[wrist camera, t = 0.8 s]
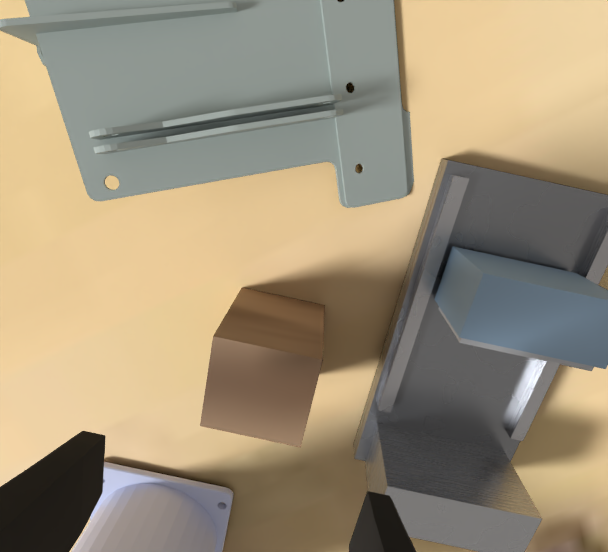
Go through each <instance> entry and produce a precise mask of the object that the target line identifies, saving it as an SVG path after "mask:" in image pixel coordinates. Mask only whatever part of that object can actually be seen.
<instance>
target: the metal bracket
mask: <svg viewBox="0 0 608 552" xmlns="http://www.w3.org/2000/svg"><path fill="white" fill-rule="evenodd" d="M25 2H26V5H27V8H28V12H29V15H30V17H23V18H11V19H1V20H0V30H1V31H3V32H5V33H8V34H10V35H12V36H15V37H17V38H20V39H22V40H24V41H27V42H29V43H31V44H34V45H36V46H37V53H38V55H39V57H40V59H41V61H42V63H43V65H45V66H46V67H47V70H48V73H49V76H50V80H51V83H52V86H53V89H54V92H55V95H56V98H57V101H58V104H59V107H60V110H61V114H62V117H63V120H64V123H65V126H66V129H67V132H68V135H69V138H70V141H71V145H72V148H73V151H74V154H75V157H76V160H77V163H78V166H79V169H80V172H81V175H82V179H83V182H84V185H85V188H86V191H87V194H88V195H89V197H90V198H91V199H93V200H95V201H105V200H111V199H117V198H122V197H128V196H134V195H139V194H145V193H151V192H157V191H162V190H168V189H174V188H179V187H185V186H191V185H196V184H202V183H208V182H213V181H219V180H225V179H230V178H236V177H242V176H248V175H253V174H259V173H265V172H270V171H276V170H282V169H287V168H293V167H299V166H304V165H310V164H316V163H321V162H331V163H332V164H333V165H334V167H335V170H336V178H337V186H338V194H339V201H340V203H341V205H342V206H344V207H347V208H350V207H359V206H365V205H370V204H375V203H380V202H385V201H390V200H395V199H400V198H403V197H405V196H407V195H408V194H409V193H410V191H411V188H412V185H413V182H414V177H413V161H412V144H411V127H410V112H406V111H405V110H404V109H403V106H402V101H401V88H400V74H399V61H398V47H397V34H396V21H395V7H394V0H344V1H343V2H338V1H337V0H25ZM348 83H351V84H352V85H353V86H354V91H353V92H352V93H349V92H347V90H346V85H347V84H348ZM357 164H361V165H362V167H363V169H362V171H361V172H360V173H357V172H356V170H355V167H356V165H357ZM109 175H113V176H115V177H117V178H118V180H119V187H118V189H116V190H111V189H109V188H107V186H106V185H105V179H106V177H107V176H109Z"/></svg>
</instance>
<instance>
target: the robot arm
mask: <svg viewBox="0 0 608 552" xmlns="http://www.w3.org/2000/svg"><path fill="white" fill-rule="evenodd" d="M104 453H105V435H100V434H96V433H91V432H86V431H82V432H80V433H79V434H77V435H76V436H74V437H73V438H71V439H70V440H69V441H67V442H66V443H64V444H63V445H61V446H60V447H58V448H57V449H56V450H54V451H53V452H51V453H50V454H48V455H47V456H46V457H44V458H43V459H41V460H40V461H38V462H37V463H35V464H34V465H32V466H31V467H30V468H28V469H27V470H25V471H24V472H22V473H21V474H19V475H18V476H16V477H15V478H13V479H12V480H10V481H9V482H7V483H5V484H4V485H2V486H1V487H0V552H69V551H70V550H71V548H72V547H73V545H74V544H75V542H76V540H77V539H78V537H79V536H80V534H81V533H82V531H83V529H84V527H85V525H86V523H87V522H88V520H89V518H90V522H89V524H88V526H87V527H86V529H85V530H84V532H83V533H82V535H81V537H80V538H79V540H78V541H77V543H76V545H75V546H74V548H73V549H72V551H71V552H223V547H224V542H225V537H226V531H227V526H228V521H229V516H230V511H231V506H232V501H233V492H232V491H231V490H230V489H229V488H226V487H222V486H217V485H212V484H207V483H203V482H198V481H193V480H189V479H184V478H179V477H174V476H170V475H165V474H160V473H155V472H151V471H146V470H141V469H136V468H132V467H127V466H122V465H118V464H113V463H108V462H104ZM221 502H223V503H221ZM349 552H416V550H415V548H414V546H413V544H412V542H411V540H410V538H409V536H408V534H407V531H406V529H405V527H404V525H403V523H402V520H401V518H400V516H399V514H398V512H397V509H396V507H395V505H394V503H393V500H392V499H391V497H390V496H389V495H384V494H379V493H375V492H370V491H367V494H366V497H365V500H364V503H363V506H362V509H361V512H360V515H359V518H358V521H357V523H356V526H355V529H354V532H353V535H352V538H351V541H350V544H349Z"/></svg>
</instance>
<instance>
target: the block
mask: <svg viewBox="0 0 608 552" xmlns="http://www.w3.org/2000/svg"><path fill="white" fill-rule="evenodd" d="M324 310H325V305H321V304H316V303H312V302H307V301H302V300H298V299H293V298H288V297H284V296H279V295H274V294H270V293H265V292H261V291H256V290H251V289H247V288H241V290H240V292H239V294H238V295H237V297H236V299H235V300H234V302H233V304H232V305H231V307H230V309H229V310H228V312H227V314H226V316H225V317H224V319H223V321H222V322H221V324H220V326H219V327H218V329H217V331H216V332H215V334H214V336H213V341H212V348H211V355H210V362H209V369H208V376H207V382H206V389H205V396H204V403H203V410H202V416H201V423H200V426H203V427H207V428H212V429H217V430H222V431H226V432H231V433H236V434H240V435H245V436H250V437H254V438H259V439H264V440H269V441H273V442H278V443H283V444H287V445H292V446H297V447H301V443H302V440H303V436H304V432H305V428H306V424H307V420H308V416H309V412H310V408H311V404H312V400H313V396H314V392H315V388H316V385H317V381H318V377H319V373H320V369H321V365H322V361H323V340H324Z"/></svg>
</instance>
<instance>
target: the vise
mask: <svg viewBox="0 0 608 552" xmlns="http://www.w3.org/2000/svg"><path fill="white" fill-rule="evenodd" d="M453 246H454V247H458V248H463V249H468V250H472V251H477V252H481V253H486V254H491V255H495V256H500V257H504V258H509V259H514V260H518V261H523V262H527V263H532V264H537V265H541V266H546V267H550V268H555V269H560V270H564V271H569V272H574V273H577V274H579V275H581V276H583V277H584V278H586V279H588V280H590V281H592V282H594V283H595V284H597V285H598V284H599V282H600V280H601V278H602V276H603V274H604V272H605V270H606V268H607V266H608V195H605V194H601V193H596V192H592V191H587V190H582V189H578V188H573V187H569V186H564V185H560V184H555V183H550V182H546V181H541V180H537V179H532V178H528V177H523V176H519V175H514V174H509V173H505V172H500V171H496V170H491V169H487V168H482V167H477V166H473V165H468V164H464V163H459V162H455V161H450V160H445V159H441V162H440V165H439V168H438V172H437V175H436V178H435V181H434V185H433V188H432V191H431V194H430V198H429V201H428V204H427V207H426V211H425V214H424V217H423V220H422V224H421V227H420V230H419V233H418V237H417V240H416V243H415V246H414V250H413V253H412V256H411V259H410V262H409V266H408V269H407V272H406V275H405V279H404V282H403V285H402V288H401V292H400V295H399V298H398V301H397V305H396V308H395V311H394V314H393V318H392V321H391V324H390V327H389V331H388V334H387V337H386V340H385V344H384V347H383V350H382V353H381V357H380V360H379V363H378V366H377V369H376V373H375V376H374V379H373V382H372V386H371V389H370V392H369V395H368V399H367V402H366V405H365V408H364V412H363V415H362V418H361V421H360V425H359V428H358V431H357V434H356V438H355V441H354V444H353V447H354V459H358V460H363V461H365V467H366V476H367V485H368V491H370V492H375V493H379V494H384V495H389V496H390V497H391V499H392V500H393V503H394V505H395V507H396V509H397V512H398V514H399V516H400V518H401V520H402V523H403V525H404V527H405V529H406V531H407V534H408V536H409V537H412V538H417V539H422V540H427V541H431V542H436V543H441V544H446V545H450V546H455V547H460V548H465V549H469V550H474V551H479V552H525V550H526V548H527V546H528V544H529V542H530V541H531V539H532V537H533V535H534V533H535V531H536V530H537V528H538V526H539V524H540V522H541V520H542V518H541V516H540V514H539V512H538V510H537V509H536V507H535V505H534V503H533V502H532V500H531V498H530V496H529V494H528V493H527V491H526V489H525V487H524V485H523V484H522V482H521V480H520V478H519V476H518V475H517V473H516V471H515V469H514V467H513V466H512V464H511V462H510V461H511V459H512V457H513V455H514V453H515V451H516V449H517V447H518V445H519V443H520V441H523V440H524V438H525V436H526V434H527V432H528V429H529V427H530V425H531V423H532V421H533V419H534V417H535V415H536V413H537V411H538V409H539V407H540V405H541V403H542V400H543V398H544V396H545V394H546V392H547V390H548V388H549V386H550V384H551V382H552V380H553V378H554V376H555V373H556V371H557V369H558V367H559V365H560V364H556V363H551V362H547V361H542V360H537V359H533V358H528V357H523V356H519V355H514V354H509V353H505V352H500V351H496V350H491V349H486V348H482V347H477V346H472V345H468V344H463V343H460V342H459V341H458V339H457V338H456V336H455V334H454V333H453V331H452V330H451V328H450V327H449V325H448V323H447V322H446V320H445V319H444V317H443V316H442V314H441V312H440V311H439V306H438V304H437V302H436V301H435V296H436V293H437V291H438V288H439V285H440V282H441V279H442V276H443V273H444V270H445V267H446V264H447V261H448V258H449V255H450V252H451V249H452V247H453Z"/></svg>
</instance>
